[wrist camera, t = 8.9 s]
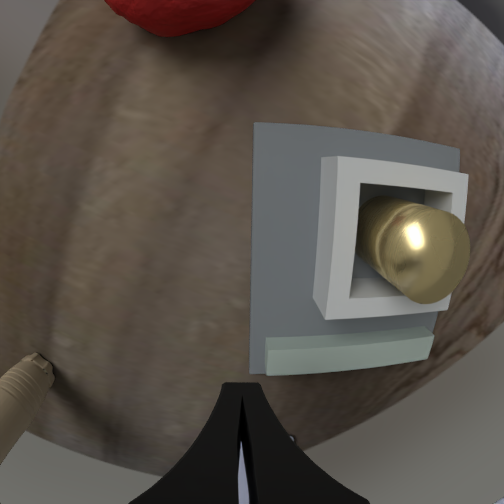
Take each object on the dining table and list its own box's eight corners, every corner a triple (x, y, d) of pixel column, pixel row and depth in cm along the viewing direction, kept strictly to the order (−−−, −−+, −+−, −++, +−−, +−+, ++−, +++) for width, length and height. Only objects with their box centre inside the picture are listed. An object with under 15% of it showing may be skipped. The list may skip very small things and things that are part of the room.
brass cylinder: (406, 265, 19) (459, 301, 13) (346, 264, 18) (388, 306, 13) (415, 198, 18) (476, 215, 12) (353, 192, 17) (404, 206, 11)
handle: (37, 329, 20) (-70, 452, 5) (79, 390, 22) (9, 526, 7) (8, 341, 20) (-86, 445, 6) (46, 397, 22) (-21, 512, 7)
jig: (419, 351, 22) (442, 378, 18) (249, 365, 21) (251, 402, 17) (451, 148, 18) (488, 149, 14) (253, 124, 17) (257, 113, 13)
